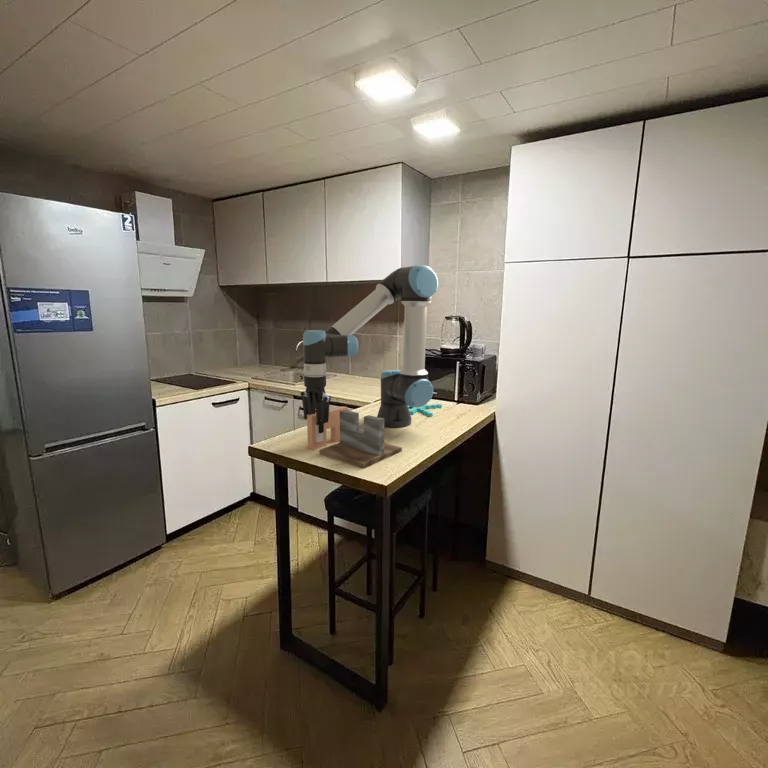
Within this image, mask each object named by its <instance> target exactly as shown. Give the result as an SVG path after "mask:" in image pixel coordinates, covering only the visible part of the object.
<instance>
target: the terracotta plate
mask: <svg viewBox="0 0 768 768" xmlns="http://www.w3.org/2000/svg"><path fill="white" fill-rule="evenodd" d="M342 410H348V411H349V407H348V406H340V407H339V406H338V407H335V408H331V409H329V418H328V422H327V423H324V432H323V441H320V442H316V423H317V416H316V412H315V414H311V415H307V419H306V424H307V428H306V429H307V430H306V431H307V432H306V433H307V449H308V450H311V451H314V450H317V449H321V448H324V447H326V446H327V441H328V439H327V434H328V433H327V430H329V429H330V441H331V442H334V443H337V442H340V411H342ZM320 421H321V420H320Z"/></svg>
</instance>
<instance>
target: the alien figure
mask: <svg viewBox="0 0 768 768" xmlns="http://www.w3.org/2000/svg"><path fill="white" fill-rule="evenodd" d="M408 408H409V412H410V416H414V415H415V414H416V413H421V414H423V416H426V417H427V418H433V416H434V415H433V413H434V412H431V411H430V410H431V409H432V410H436V409H440V410H441V409H442V408H443V404H442V403H437V404H426V405H425V406H423V407H419V408H416V407H411V406H408ZM428 409H430V410H428ZM421 414H420V415H421Z"/></svg>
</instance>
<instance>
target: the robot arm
mask: <svg viewBox="0 0 768 768" xmlns="http://www.w3.org/2000/svg"><path fill="white" fill-rule="evenodd" d="M438 287H439V280H438V276H437V274H436V273H435V271H434V270H433V269H432V268H431V267H429V266H428V265H420V264H419V265H417V264H415V265H412V266H405V267H399V268H397V269H395V270H393V271H392V272H391V273H390V274H389V275H387V276H386V277H384V278H383V279H382V280H381V281H380V282H378V283H377V284H376V286H375V290H373V291H372V292H370V294H368V295H367V296H366V297H365V298H364V299H362V300H361V301H360V302H359V303H358V304H356V305H355V306H354V307H353V308H352V309H351V310H349V311H348V312H347V313H346V314H344V315H343V316H342V317H341V318H340V319H338V320H337V322H335V323H334V324H333V325H331V326H330V327H329V328H328V329H326V330H322V329H321V330H320V329H319V330H318V329H310V330H305V331H304V332H303V335H302V348H303V349H302V350H303V351H302V352H303V373H304V376H303V385H304V387H305V390H304V391H301V392H300V396H301V402H302V411H303V419H304V420H307V415H311V414H315V413H316V416H317V423H316V442H320V441H323V432H324V423H327V422H328V418H329V410H330V402H331V400H332V396H331V395H328V394H326V389H325V388H326V386H327V376H326V375H327V359H326V358H339V357H340V358H346V357H347V358H348V357H354V356H356V355H357V353H358V352H359V340H358V339H357V337H356V336H355V335H353V334H355V333H356V332H357V331H358V330H359V329H361V328H362V327H363V326H364V325H365V324H366V323H367V322H369V321H370V320H371V319H373V317H375V316H376V315H377V314H378V313H379V312H381V310H383V309H384V308H385V307H387V306H388V305H392V304H394V303H395V302H396V301H398V300H400V303H401V304H402V305H403V306H404V319H403V321H404V322H403V323H404V325H403V349H402V351H403V353H402V357H403V358H402V368H400V369H389V370H388V369H387V370H384V371H382V372H381V374H380V406H379V409H378V413H377V415H376V417H379V418H384V428H385V427H386V428H403V427H404V428H405V427H407V426H410V425H411V424H412V415H410V412H409V408H408V406H411V407H416V408H419V407H423V406H426V405H428V403H429V402H430V401H431V400H432V398H433V395H434V385H433V384H432V382H431V381H430V380H429V372H428V371H427V369H425V367H426V364H425V363H426V344H427V343H426V341H427V321H428V320H427V316H428V315H427V313H428V312H427V311H428V306H430V304H431V303H432V297H433V296H434V295H435V293H436V292H437V290H438ZM320 420H321V421H320Z"/></svg>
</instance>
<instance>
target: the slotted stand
mask: <svg viewBox="0 0 768 768" xmlns="http://www.w3.org/2000/svg"><path fill="white" fill-rule="evenodd" d="M401 452H403V447H402V446H399V445H395V444H392V443H391V444H390V443H387V442H385V426H384V418H379V417H377V416H374V415H370V414H368V415H364V416H363V430H362V429H360V414H359V412H357V411H352V410H349V409H348V410H342V411H340V441H339V442H338V443H337V442H336V443H335V444H332V445H329V446H327V447H326V446H325V447H322V448H319V454H320V455H321V456H324V457H328V458H331V459H334V460H338V461H341V462H343V463H346V464H349V465H352V466H355V467H359V468H362V469H365V468H368V467H371V466H373V465H375V464H378V463H379V462H381V461H383V460H386V459H388V458H391V457H393V456H395V455H397V454H399V453H401Z"/></svg>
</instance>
